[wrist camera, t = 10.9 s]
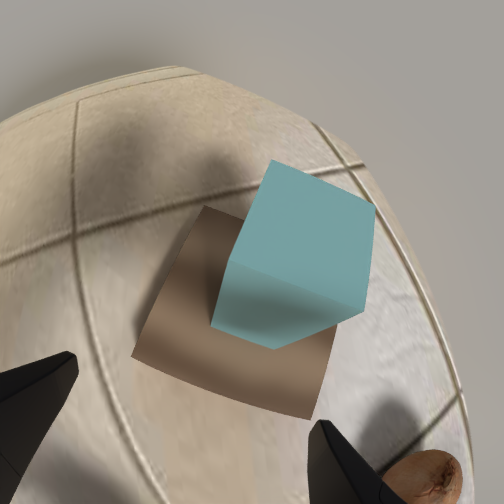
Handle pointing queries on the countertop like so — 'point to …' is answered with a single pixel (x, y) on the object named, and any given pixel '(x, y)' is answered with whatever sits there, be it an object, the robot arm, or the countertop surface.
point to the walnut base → (219, 342)
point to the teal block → (296, 260)
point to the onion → (426, 478)
